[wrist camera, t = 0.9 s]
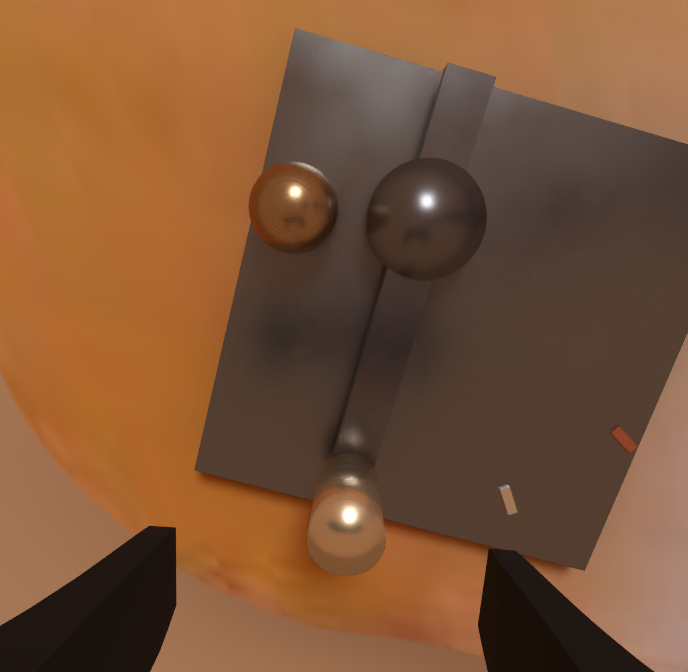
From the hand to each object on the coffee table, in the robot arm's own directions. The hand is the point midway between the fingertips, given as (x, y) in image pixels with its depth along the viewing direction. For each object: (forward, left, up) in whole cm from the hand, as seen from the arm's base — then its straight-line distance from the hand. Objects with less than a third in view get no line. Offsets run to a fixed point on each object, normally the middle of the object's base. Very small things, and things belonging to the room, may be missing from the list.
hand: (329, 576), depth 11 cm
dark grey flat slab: (-3, -5, -10) cm, 12 cm away
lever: (-1, -5, -8) cm, 10 cm away
